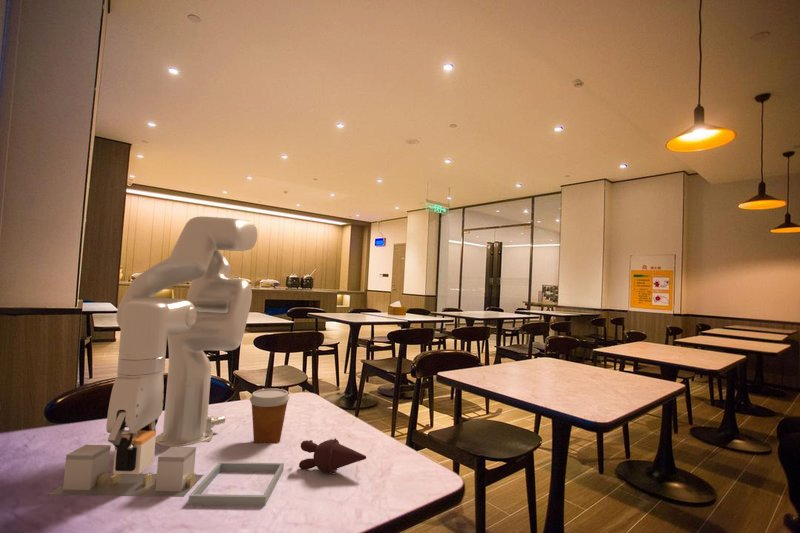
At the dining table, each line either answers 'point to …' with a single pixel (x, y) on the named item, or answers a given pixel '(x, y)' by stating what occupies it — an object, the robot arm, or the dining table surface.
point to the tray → (251, 500)
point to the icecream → (329, 456)
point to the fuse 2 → (175, 468)
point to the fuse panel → (128, 486)
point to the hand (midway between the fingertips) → (134, 462)
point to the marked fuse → (141, 451)
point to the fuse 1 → (86, 466)
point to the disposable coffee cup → (268, 414)
